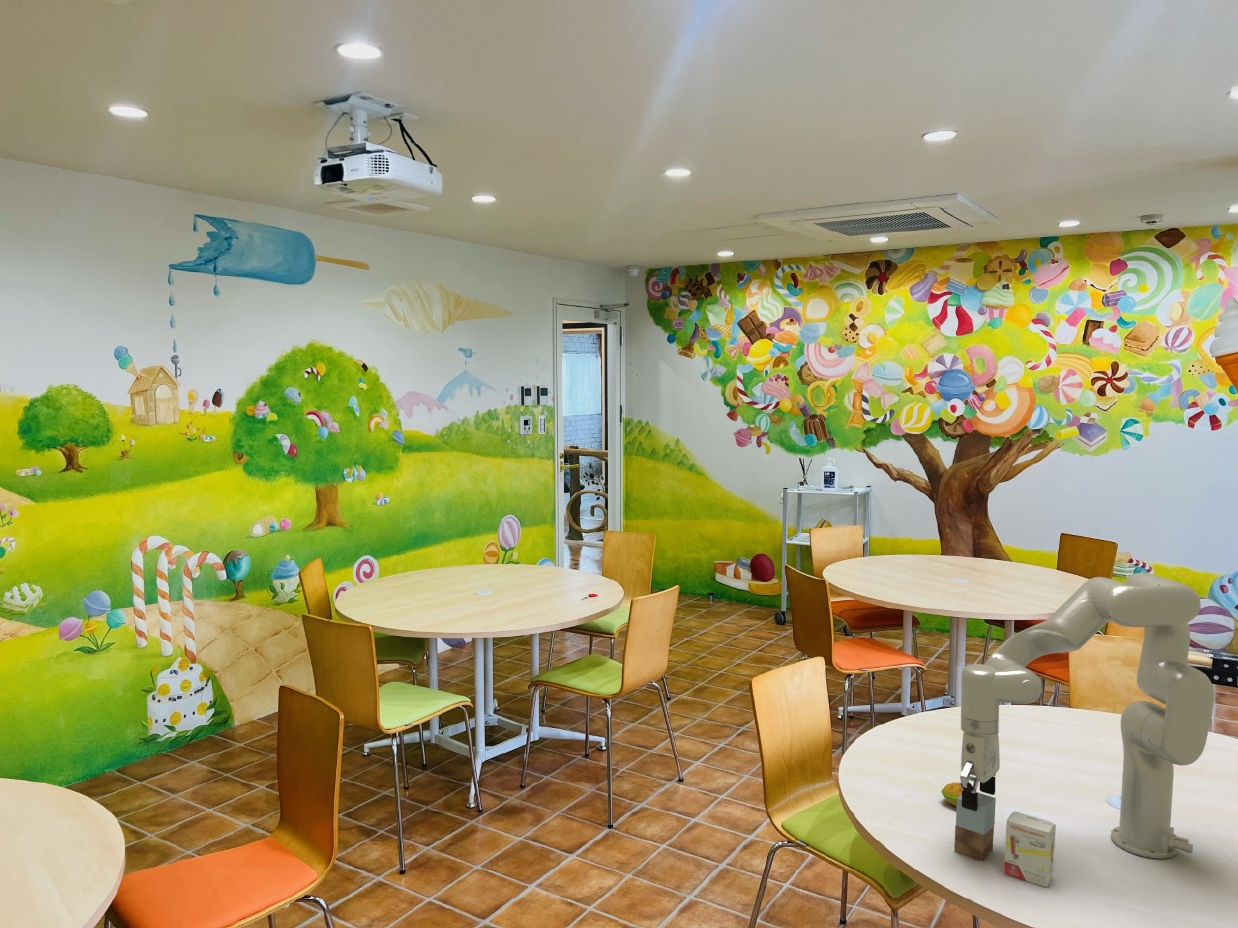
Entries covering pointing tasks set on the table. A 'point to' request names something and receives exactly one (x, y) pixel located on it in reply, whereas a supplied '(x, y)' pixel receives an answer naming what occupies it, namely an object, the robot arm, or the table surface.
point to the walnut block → (973, 843)
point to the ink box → (1029, 848)
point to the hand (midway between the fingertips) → (978, 800)
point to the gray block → (977, 815)
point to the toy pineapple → (952, 792)
